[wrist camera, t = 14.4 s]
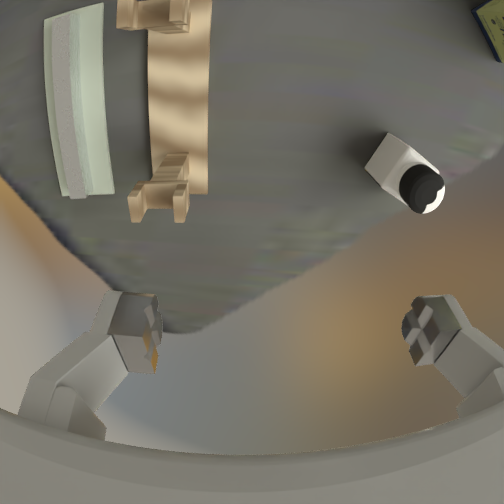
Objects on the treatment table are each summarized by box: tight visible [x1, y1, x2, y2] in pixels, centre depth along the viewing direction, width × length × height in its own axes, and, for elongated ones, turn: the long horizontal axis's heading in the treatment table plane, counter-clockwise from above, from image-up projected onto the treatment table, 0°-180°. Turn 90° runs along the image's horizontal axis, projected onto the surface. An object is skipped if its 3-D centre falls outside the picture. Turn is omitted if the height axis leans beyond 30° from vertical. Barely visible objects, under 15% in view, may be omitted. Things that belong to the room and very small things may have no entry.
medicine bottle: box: [365, 133, 445, 214], centre depth 38 cm, size 7×7×12 cm
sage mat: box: [44, 3, 115, 196], centre depth 35 cm, size 30×10×1 cm, turn 177°
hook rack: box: [116, 0, 212, 223], centre depth 30 cm, size 30×8×15 cm, turn 177°
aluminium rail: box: [52, 14, 94, 199], centre depth 34 cm, size 28×3×3 cm, turn 177°
